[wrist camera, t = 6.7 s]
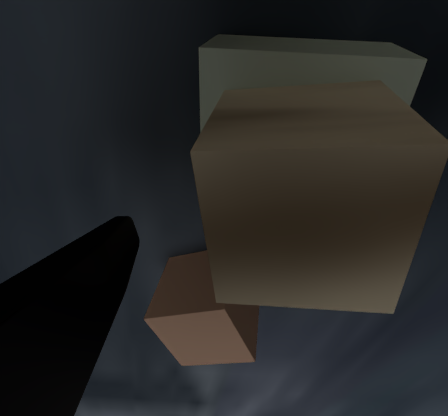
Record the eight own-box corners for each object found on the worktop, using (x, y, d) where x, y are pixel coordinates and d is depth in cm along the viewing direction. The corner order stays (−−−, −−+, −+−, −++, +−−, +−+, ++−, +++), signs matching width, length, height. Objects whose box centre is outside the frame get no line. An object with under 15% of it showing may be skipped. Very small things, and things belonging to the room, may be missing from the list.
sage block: (389, 41, 12) (427, 59, 9) (344, 188, 16) (360, 236, 13) (218, 33, 13) (198, 47, 10) (216, 176, 17) (201, 218, 14)
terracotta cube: (236, 243, 20) (224, 309, 16) (259, 294, 22) (255, 361, 18) (169, 256, 21) (143, 319, 17) (198, 302, 24) (181, 365, 20)
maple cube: (356, 209, 12) (393, 313, 8) (235, 208, 13) (216, 302, 9) (380, 80, 10) (452, 144, 6) (224, 90, 11) (190, 152, 6)
